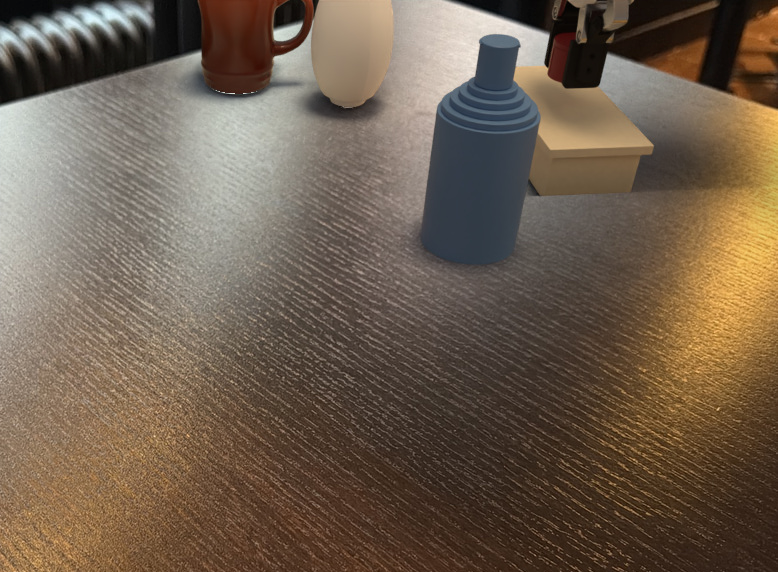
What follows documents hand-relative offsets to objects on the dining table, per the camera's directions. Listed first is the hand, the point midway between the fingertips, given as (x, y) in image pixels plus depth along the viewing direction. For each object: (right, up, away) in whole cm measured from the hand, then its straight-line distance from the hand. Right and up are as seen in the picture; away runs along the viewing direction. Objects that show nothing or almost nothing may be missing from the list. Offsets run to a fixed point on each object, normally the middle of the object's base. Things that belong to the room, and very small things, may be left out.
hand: (571, 74), depth 87 cm
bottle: (-11, -17, -9) cm, 23 cm away
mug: (-28, +5, +18) cm, 33 cm away
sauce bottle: (-18, +1, +14) cm, 23 cm away
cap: (0, 0, 0) cm, 0 cm away
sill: (0, -6, +5) cm, 8 cm away
